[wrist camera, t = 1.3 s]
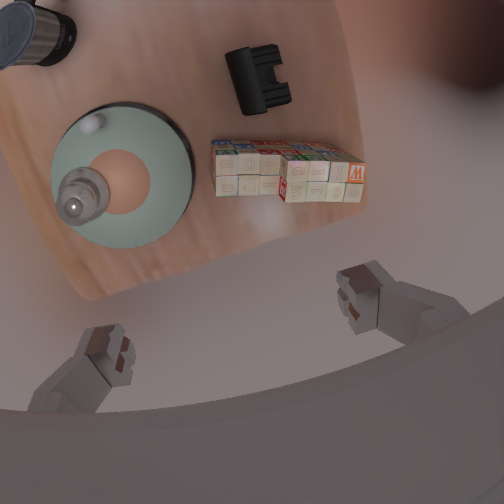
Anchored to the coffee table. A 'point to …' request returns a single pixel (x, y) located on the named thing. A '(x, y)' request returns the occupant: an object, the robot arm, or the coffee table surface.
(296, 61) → the coffee table surface
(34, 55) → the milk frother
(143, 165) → the turntable
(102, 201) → the cover
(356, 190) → the stack of blocks
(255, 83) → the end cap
